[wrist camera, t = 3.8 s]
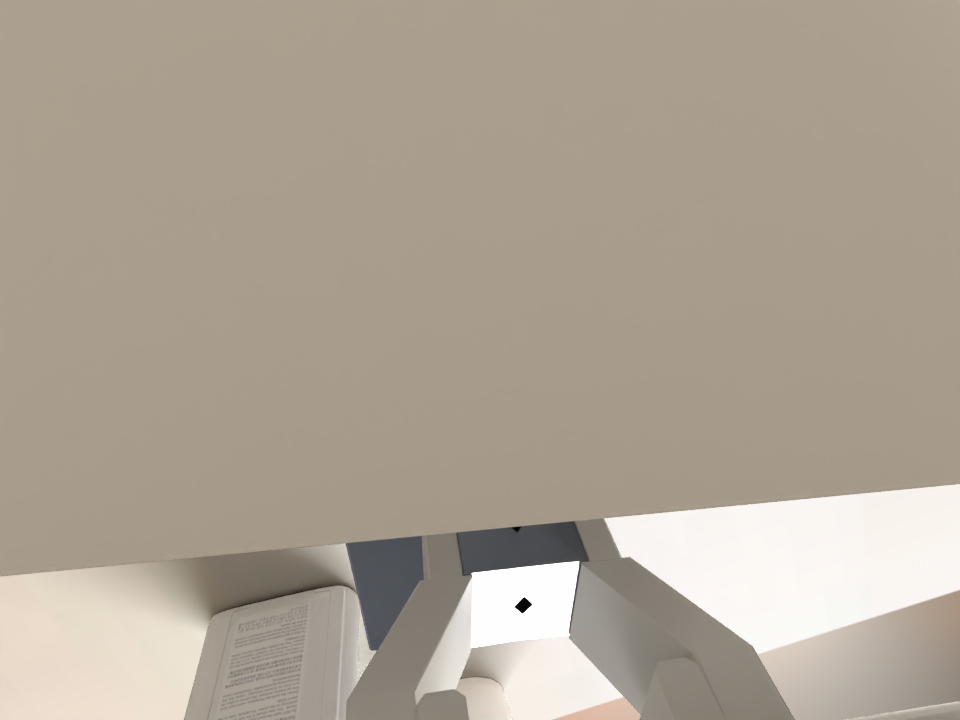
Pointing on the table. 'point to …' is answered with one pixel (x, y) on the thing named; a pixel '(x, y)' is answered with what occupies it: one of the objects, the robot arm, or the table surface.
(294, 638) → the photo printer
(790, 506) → the table surface
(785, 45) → the lid flap
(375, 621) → the small box
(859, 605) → the table surface
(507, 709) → the foam cup
